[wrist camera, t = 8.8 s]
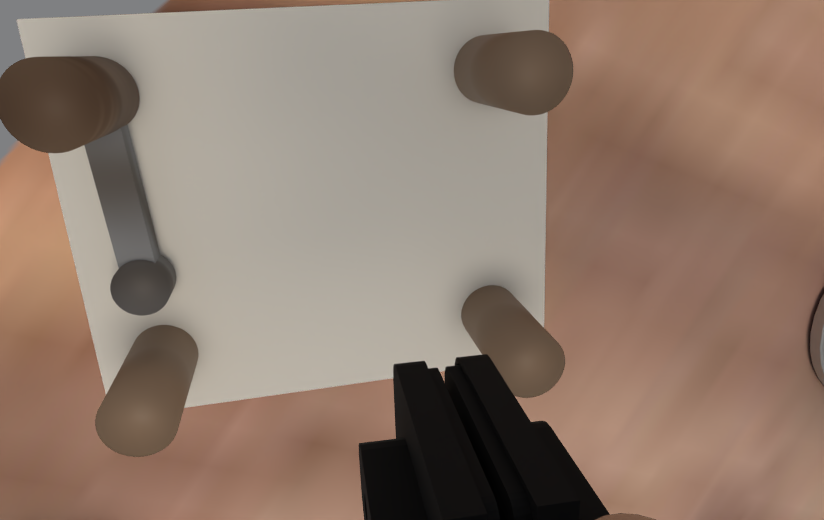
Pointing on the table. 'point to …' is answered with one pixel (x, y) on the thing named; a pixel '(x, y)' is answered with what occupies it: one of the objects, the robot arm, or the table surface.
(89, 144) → the grey and brown lever
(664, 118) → the table surface
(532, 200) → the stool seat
